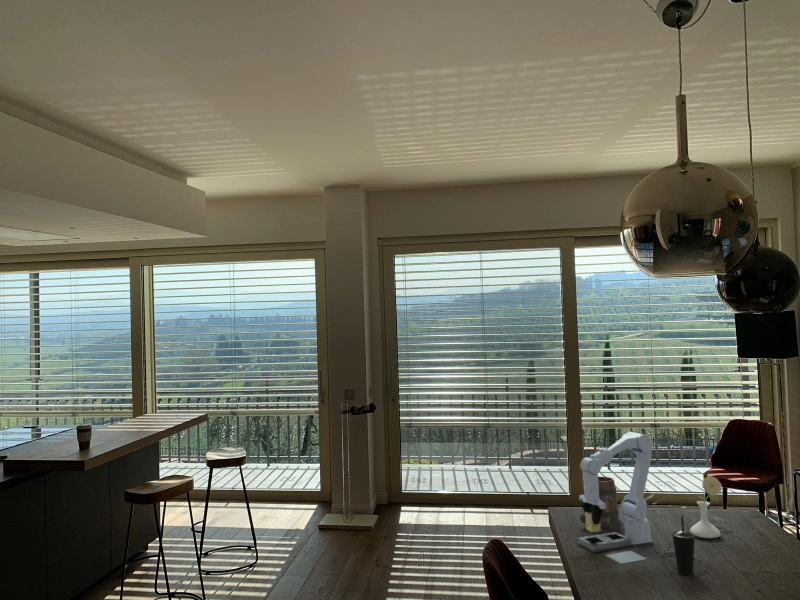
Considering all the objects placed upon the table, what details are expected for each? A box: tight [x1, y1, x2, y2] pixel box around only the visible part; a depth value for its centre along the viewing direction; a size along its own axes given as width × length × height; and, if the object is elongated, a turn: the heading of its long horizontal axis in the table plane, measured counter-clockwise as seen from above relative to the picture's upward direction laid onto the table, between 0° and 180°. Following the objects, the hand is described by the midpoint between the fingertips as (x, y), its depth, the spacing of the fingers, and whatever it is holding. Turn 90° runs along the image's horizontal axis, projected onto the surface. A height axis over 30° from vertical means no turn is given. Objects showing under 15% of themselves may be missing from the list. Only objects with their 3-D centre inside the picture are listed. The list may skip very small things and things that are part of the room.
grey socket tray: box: [577, 531, 632, 553], centre depth 235 cm, size 18×10×3 cm, turn 108°
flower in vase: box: [689, 475, 723, 539], centre depth 244 cm, size 13×11×25 cm
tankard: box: [579, 476, 625, 530], centre depth 262 cm, size 24×17×20 cm
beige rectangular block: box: [584, 511, 602, 533], centre depth 234 cm, size 4×4×7 cm
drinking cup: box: [671, 515, 696, 577], centre depth 207 cm, size 8×8×20 cm
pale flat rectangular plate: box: [605, 550, 648, 565], centre depth 222 cm, size 12×9×1 cm
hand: (593, 522), depth 234 cm, fingers closed on beige rectangular block, 4 cm apart
